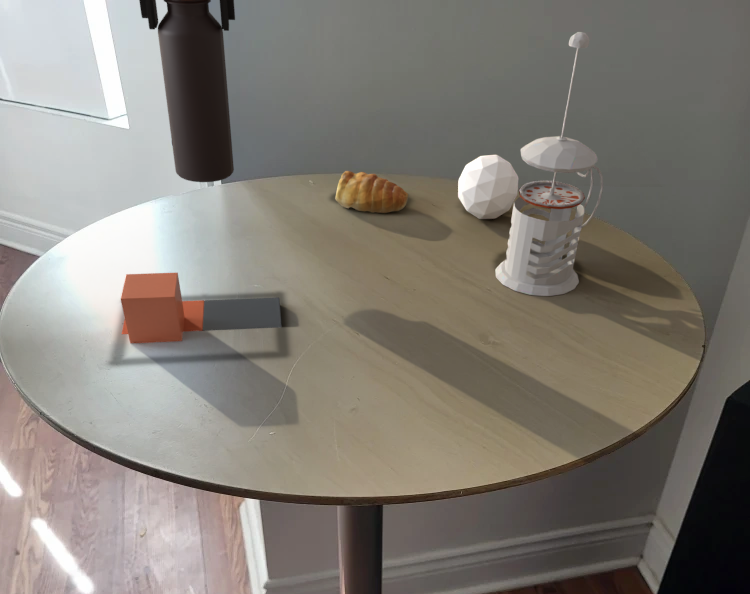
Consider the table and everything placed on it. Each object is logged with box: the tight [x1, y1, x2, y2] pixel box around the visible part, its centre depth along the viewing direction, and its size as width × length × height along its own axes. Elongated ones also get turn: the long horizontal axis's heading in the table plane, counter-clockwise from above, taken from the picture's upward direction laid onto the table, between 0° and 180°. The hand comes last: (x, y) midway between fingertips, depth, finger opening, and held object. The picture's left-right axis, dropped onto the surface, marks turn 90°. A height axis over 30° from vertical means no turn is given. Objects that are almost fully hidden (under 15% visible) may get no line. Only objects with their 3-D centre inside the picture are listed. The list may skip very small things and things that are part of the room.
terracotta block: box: [120, 272, 185, 344], centre depth 77 cm, size 5×5×5 cm
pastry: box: [334, 170, 409, 214], centre depth 104 cm, size 9×7×4 cm
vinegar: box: [157, 0, 235, 183], centre depth 85 cm, size 7×7×20 cm
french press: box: [494, 31, 604, 297], centre depth 83 cm, size 10×12×25 cm
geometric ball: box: [457, 154, 519, 220], centre depth 101 cm, size 8×8×8 cm
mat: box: [121, 297, 283, 335], centre depth 79 cm, size 16×12×1 cm
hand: (189, 25), depth 82 cm, fingers closed on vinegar, 6 cm apart
